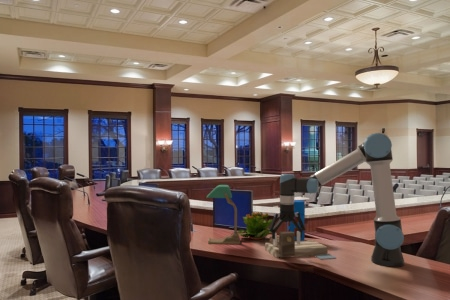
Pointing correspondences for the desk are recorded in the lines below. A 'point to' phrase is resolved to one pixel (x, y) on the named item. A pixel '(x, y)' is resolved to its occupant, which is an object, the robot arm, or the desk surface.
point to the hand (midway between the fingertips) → (286, 244)
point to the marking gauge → (285, 243)
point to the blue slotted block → (300, 208)
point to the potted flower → (256, 226)
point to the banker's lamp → (225, 192)
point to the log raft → (300, 249)
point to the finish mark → (325, 256)
